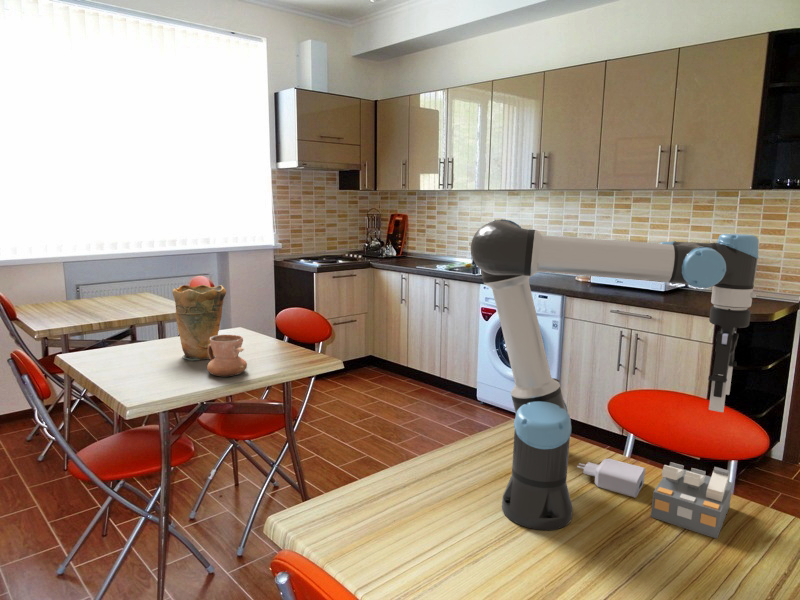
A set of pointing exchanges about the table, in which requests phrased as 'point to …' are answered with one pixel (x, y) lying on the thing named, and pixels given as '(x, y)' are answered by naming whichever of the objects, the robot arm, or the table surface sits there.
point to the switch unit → (690, 505)
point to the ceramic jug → (226, 355)
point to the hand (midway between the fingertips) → (719, 401)
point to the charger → (616, 476)
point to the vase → (198, 317)
